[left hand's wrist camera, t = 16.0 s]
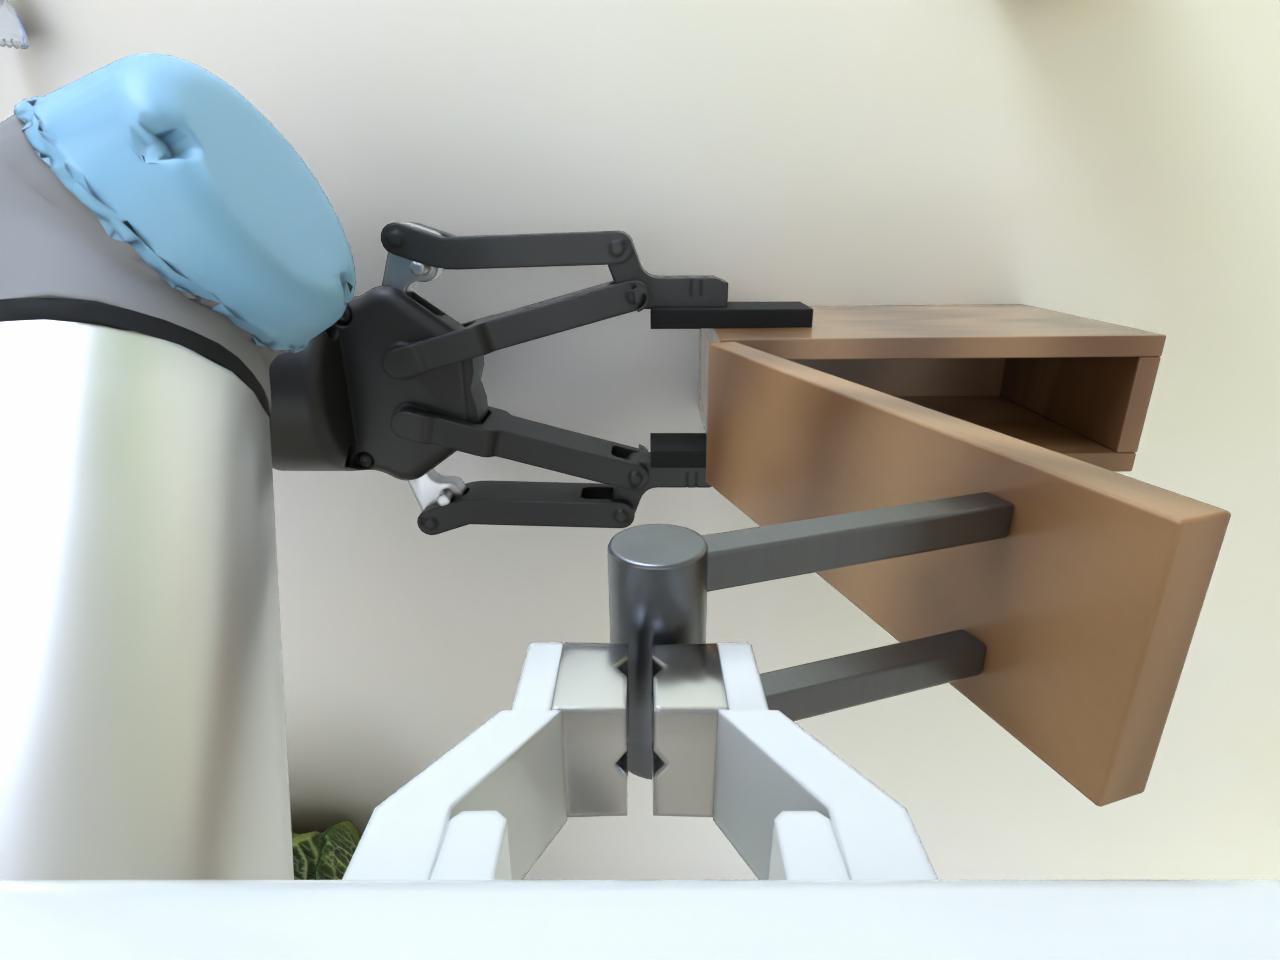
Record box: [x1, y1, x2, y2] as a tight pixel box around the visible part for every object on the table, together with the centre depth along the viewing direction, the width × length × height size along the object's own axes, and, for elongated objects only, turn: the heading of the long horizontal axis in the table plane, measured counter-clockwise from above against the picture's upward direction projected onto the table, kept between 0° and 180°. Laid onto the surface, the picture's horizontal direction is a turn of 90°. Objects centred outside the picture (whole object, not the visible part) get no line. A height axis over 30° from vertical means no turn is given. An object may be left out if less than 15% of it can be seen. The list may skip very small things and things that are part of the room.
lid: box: [608, 342, 1231, 806], centre depth 17 cm, size 17×5×9 cm
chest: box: [699, 304, 1166, 471], centre depth 31 cm, size 16×5×10 cm, turn 91°
